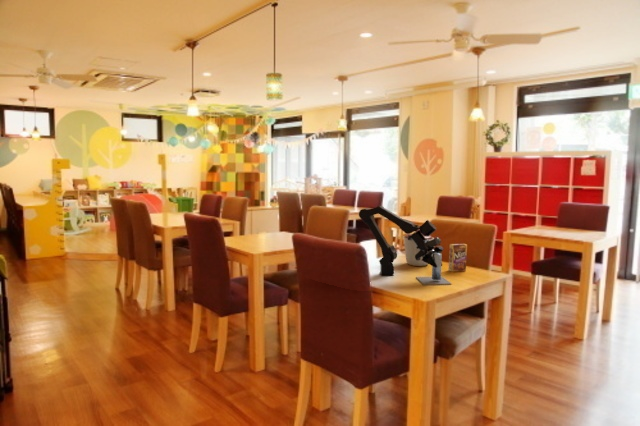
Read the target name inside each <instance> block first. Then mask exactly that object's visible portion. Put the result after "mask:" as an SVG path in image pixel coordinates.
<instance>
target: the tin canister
mask: <svg viewBox="0 0 640 426" xmlns="http://www.w3.org/2000/svg"><path fill="white" fill-rule="evenodd" d="M442 255H443V254H442V252H441V253H433V260H434V262H435V263H436V265H437V267H436V268H435V267H433V266H431V277H432V279H433V280H441V277H442V266H441V262H443V261H442V260H443V257H442Z"/></svg>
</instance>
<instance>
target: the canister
mask: <svg viewBox="0 0 640 426" xmlns="http://www.w3.org/2000/svg"><path fill="white" fill-rule="evenodd" d="M419 230H420V229H419ZM419 230H417V231H415V232H418V231H419ZM412 234H413V233H410V234H407V233H406V234H405V235H403V236H402V238H403V241H404V242H403V243H404V254H405V256H404V257H405V261H406V263H407V264H408V265H409V266H414V267H425V266H428V265H429V264H428V263H426V262H424V261H421V260H422V259H423V258H422V257H420V260H418V261H417V260H416V259H415V255H416V254H417V253H418V252H419V251H420V249H417V248H416V247H417V245H416V244H415V242H414V241H413V240H411V241H410V240H408V235H412ZM422 235H423V234H422ZM423 236H424V235H423ZM424 237H425V239H426V240H430V241H431V240H434V238H435V237H433V236H432V235H430V236H424Z"/></svg>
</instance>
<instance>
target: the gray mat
mask: <svg viewBox="0 0 640 426" xmlns="http://www.w3.org/2000/svg"><path fill="white" fill-rule="evenodd" d="M415 279H416V280H417V281H418V282H419V283H420V284H422V285H423V286H434V285H435V286H436V285H437V286H440V285H441V286H444V285H445V286H446V285H447V286H449V285H450V286H451V285H452V282H450V281H449V280H447V279H446V277H443V276H441V280H433V279H432V276H416V277H415Z"/></svg>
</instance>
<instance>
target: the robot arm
mask: <svg viewBox="0 0 640 426" xmlns="http://www.w3.org/2000/svg"><path fill="white" fill-rule="evenodd" d="M375 215H380V216H381V217H383V218H385V219H386V220H388V221H390V222H391V223H394V224H395V225H396V226H397V227H399V229H400V230H401V231H402V232H404V234H406V235H407V234H412V235H408V240H410V241H411V240H413V241H414V242H415V244H416V245H417V247H416V248H417V249H420V251H419V252H418V253H417V254H416V255H415V259H416V260H417V261H418V260H420V257H422V258H423V259H422V260H421V261H424V262H426V263H428V265H430V266H431V267H432V266H433V267H435V268H436V267H437V265H436V263H435V262H434V260H433V253H441V254H442V252H443V251H444V247H443V246H442V245H441V243H442V239H440V238H439V237H438V236H437V237H433V238H434V239H433V240H431V241H430V240H426V239H425V237H424V236H432V234H433V233H435V232H436V231H437V226H435V225H434V224H435V223H433V222H431V221H430V220H429V219H427V220H425V221H424V223H423V224H421V225H418V224H416V223H415V222H413V221H411V220H408V219H405V218H403V217H400V216H399V215H397V214H395V213H393V212H392V211H390V210H388V209H387V208H385V207H384V205H379V206H376V207H373V208H369V207H365V208H361V209H360V210H359V211H358V217H359V218H360V219H361V220H362V222H363V223H364V224H366V225H367V226H368V228H369V230H370V232H371V234H372V235H373V236H374V238H375V240H376V242H377V244H378V245H379V247H380V249H381V250H380V251H381V255H382V258H381V259H379V260H378V262H379V264H380V265H379V267H380V269H379V270H380V272H379V274H380V276H382V277H383V276H384V277H387V276H388V277H389V276H390V277H391V276H392V277H393V276H394V274H395V266H394V261H395V260H396V259H397V257H398V250H397V249H396V248H395V245H394V244H392V245H390V244H389V242H388V241H387V239H386V237H385V236H384V234H383V233H382V231H381V229H380V227H379V226H378V224H377V222H376V219H375ZM417 230H419V231H418V232H416V231H417ZM422 234H423V235H424V236H423V235H422ZM442 262H443V261H441V267H443V263H442Z"/></svg>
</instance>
